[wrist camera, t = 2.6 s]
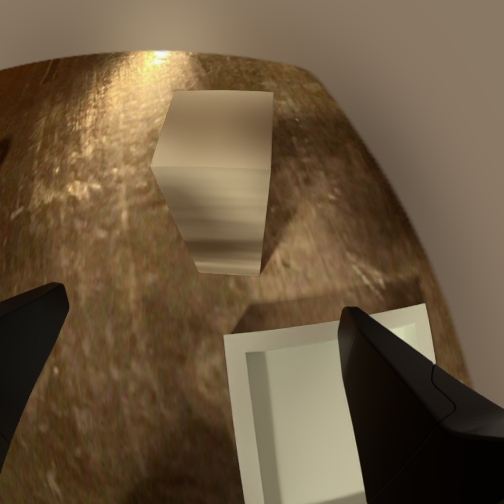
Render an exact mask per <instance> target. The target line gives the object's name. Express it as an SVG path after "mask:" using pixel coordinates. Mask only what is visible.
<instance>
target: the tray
mask: <svg viewBox="0 0 504 504" xmlns="http://www.w3.org/2000/svg"><path fill="white" fill-rule="evenodd" d="M369 316H371V317H372V318H373V319H375V320H376V321H378V322H379V323H380V324H382V325H383V326H384V327H386V328H387V329H389V330H390V331H391V332H393V333H394V334H395V335H397V336H398V337H399V338H401V339H402V340H404V341H405V342H406V343H408V344H409V345H410V346H412V347H413V348H414V349H416V350H417V351H418V352H420V353H421V354H423V355H424V356H425V357H427V358H428V359H429V360H431V361H432V362H433V364H436V362H435V355H434V349H433V343H432V337H431V331H430V325H429V320H428V315H427V310H426V305H425V303H424V304H420V305H415V306H411V307H406V308H401V309H396V310H391V311H386V312H381V313H376V314H371V315H369ZM339 322H340V320H337V321H330V322H324V323H318V324H311V325H304V326H297V327H290V328H282V329H274V330H266V331H257V332H249V333H239V334H229V335H224V345H225V354H226V363H227V373H228V381H229V390H230V398H231V407H232V415H233V423H234V430H235V438H236V445H237V453H238V460H239V467H240V474H241V480H242V487H243V494H244V500H245V504H367V502H366V496H365V490H364V484H363V478H362V473H361V467H360V462H359V456H358V451H357V446H356V441H355V436H354V431H353V426H352V421H351V416H350V412H349V407H348V403H347V398H346V394H345V389H344V385H343V380H342V373H341V363H340V354H339V345H338V337H337V332H338V326H339Z"/></svg>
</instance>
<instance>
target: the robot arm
mask: <svg viewBox="0 0 504 504" xmlns="http://www.w3.org/2000/svg"><path fill="white" fill-rule="evenodd" d="M68 312H69V301H68V298H67V294H66V290H65V286H64V285H63V284H62V283H57V282H51V283H49V284H46V285H43V286H41V287H38V288H35V289H33V290H30V291H27V292H25V293H22V294H19V295H17V296H14V297H12V298H9V299H7V300H4V301H2V302H0V473H1V470H2V467H3V464H4V461H5V458H6V455H7V452H8V449H9V446H10V444H9V443H11V440H12V438H13V435H14V432H15V430H16V427H17V425H18V422H19V420H20V417H21V415H22V413H23V410H24V408H25V406H26V403H27V401H28V399H29V396H30V394H31V392H32V390H33V388H34V385H35V383H36V381H37V379H38V377H39V375H40V373H41V371H42V369H43V367H44V365H45V363H46V361H47V359H48V357H49V355H50V353H51V351H52V349H53V347H54V345H55V342H56V340H57V337H58V335H59V333H60V330H61V328H62V325H63V323H64V321H65V318H66V316H67V314H68ZM337 337H338V345H339V354H340V363H341V373H342V380H343V385H344V389H345V394H346V398H347V403H348V407H349V412H350V416H351V421H352V426H353V431H354V436H355V441H356V446H357V451H358V456H359V462H360V467H361V473H362V478H363V484H364V490H365V496H366V502H367V504H504V409H503V408H502V407H500V406H498V405H496V404H495V403H493V402H491V401H490V400H488V399H487V398H485V397H484V396H482V395H480V394H478V393H477V392H476V391H474V390H472V389H471V388H469V387H468V386H466V385H465V384H463V383H461V382H460V381H458V380H457V379H455V378H454V377H453V376H451V375H450V374H448V373H447V372H446V371H444V370H443V369H441V368H440V367H439V366H437V365H436V364H433V362H432V361H431V360H429V359H428V358H427V357H425V356H424V355H423V354H421V353H420V352H418V351H417V350H416V349H414V348H413V347H412V346H410V345H409V344H408V343H406V342H405V341H404V340H402V339H401V338H399V337H398V336H397V335H395V334H394V333H393V332H391V331H390V330H389V329H387V328H386V327H384V326H383V325H382V324H380V323H379V322H378V321H376V320H375V319H373V318H372V317H371V316H369V315H368V314H367V313H365V312H364V311H362V310H361V309H360V308H358V307H350V306H346V307H344V308H343V310H342V314H341V318H340V322H339V326H338V332H337Z"/></svg>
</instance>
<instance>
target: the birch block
mask: <svg viewBox="0 0 504 504" xmlns="http://www.w3.org/2000/svg"><path fill="white" fill-rule="evenodd" d="M272 118H273V92H259V91H227V90H204V91H175V93H174V95H173V98H172V101H171V104H170V107H169V110H168V112H167V115H166V118H165V121H164V124H163V127H162V130H161V134H160V137H159V140H158V143H157V146H156V150H155V153H154V156H153V160H152V163H151V169H152V171H153V174H154V176H155V178H156V181H157V183H158V185H159V187H160V190H161V192H162V194H163V196H164V199H165V201H166V203H167V205H168V208H169V210H170V212H171V214H172V216H173V219H174V221H175V223H176V225H177V227H178V229H179V231H180V234H181V236H182V238H183V240H184V242H185V244H186V246H187V248H188V251H189V253H190V255H191V257H192V259H193V261H194V263H195V265H196V267H197V269H198V271H199V272H201V273H215V274H230V275H246V276H259V275H260V266H261V257H262V248H263V239H264V230H265V220H266V211H267V202H268V192H269V183H270V173H271V150H272Z"/></svg>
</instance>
